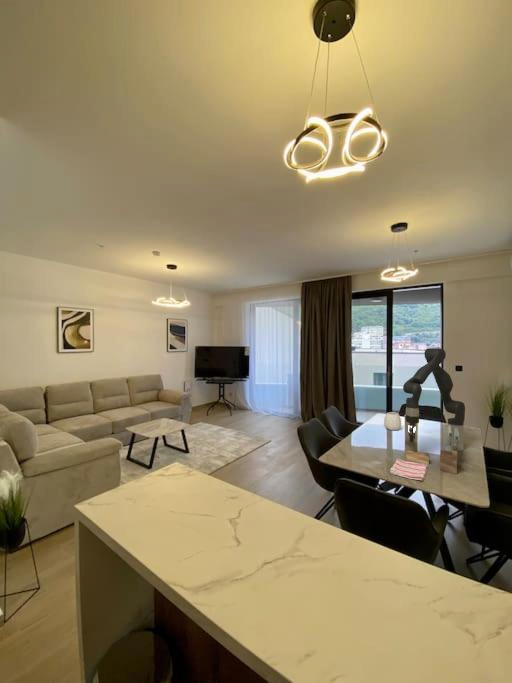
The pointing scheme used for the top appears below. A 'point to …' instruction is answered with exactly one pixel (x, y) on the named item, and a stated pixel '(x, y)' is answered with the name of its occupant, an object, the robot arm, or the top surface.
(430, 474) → the top surface
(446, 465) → the wooden block holder
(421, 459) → the tan rectangular block
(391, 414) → the cup
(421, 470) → the dish towel
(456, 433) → the bracket
